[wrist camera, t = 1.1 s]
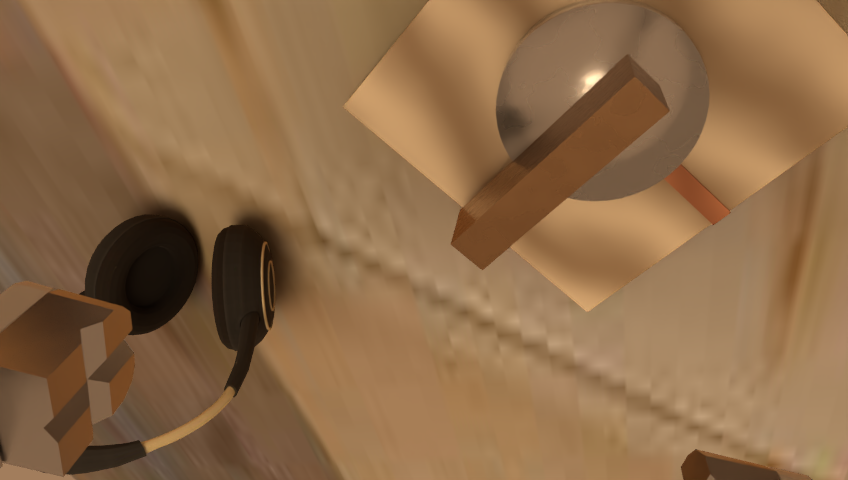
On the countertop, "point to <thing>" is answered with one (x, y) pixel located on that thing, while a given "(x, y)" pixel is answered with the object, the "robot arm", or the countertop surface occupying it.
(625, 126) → the dial
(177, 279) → the headphones
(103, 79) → the countertop surface
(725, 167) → the dial plate
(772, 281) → the countertop surface
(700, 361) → the countertop surface
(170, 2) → the countertop surface
